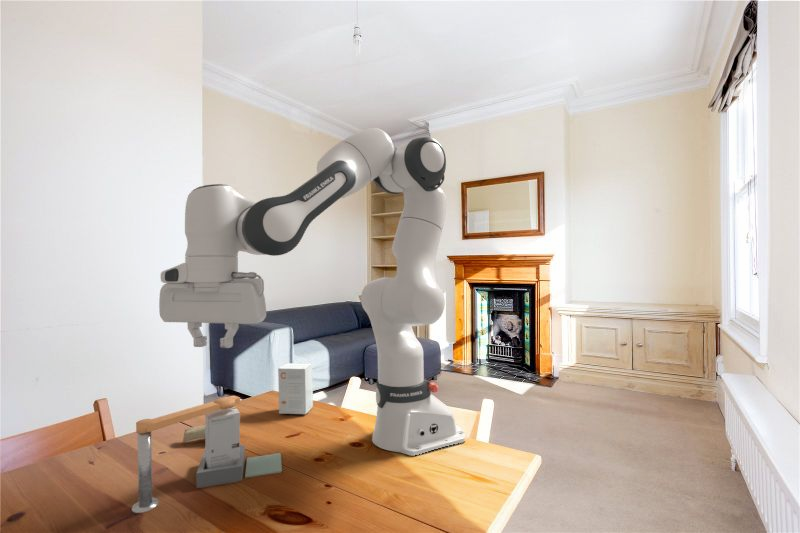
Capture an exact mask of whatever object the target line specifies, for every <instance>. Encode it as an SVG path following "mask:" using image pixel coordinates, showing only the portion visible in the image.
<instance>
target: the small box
mask: <svg viewBox="0 0 800 533" xmlns="http://www.w3.org/2000/svg"><path fill="white" fill-rule="evenodd" d="M277 371H278V375H277V376H278V380H277V381H278V414H285V415H286V414H289V415H307V413H309V412H310V410H311V409H312V408H313V406H314V396H313V395H314V391H313V389H314V387H313V363H301V362H300V363H294V362H293V363H289V362H288V363H285V364H283V365H282V366H280V367H278V368H277Z"/></svg>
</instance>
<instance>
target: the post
mask: <svg viewBox="0 0 800 533" xmlns="http://www.w3.org/2000/svg"><path fill="white" fill-rule="evenodd" d="M152 459H153V458H152V431H150V432H147V433H142V434H138V433H137V471H138V472H137V473H138V474H137V475H138V476H137V477H138V478H137V479H138V484H137V485H138V486H137V487H138V489H137V490H138V501H137V502H135V503H134V504H133V505H132V507H131V512H132V513H135V514H141V513H142V514H143V513H146V512H149V511H152V510H154V509H155V508H156V507H157V506H158V505H159V503H160V500H159V498H157V497H153V471H152V470H153V464H152V463H153V462H152V461H153V460H152Z"/></svg>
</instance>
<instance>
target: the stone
mask: <svg viewBox="0 0 800 533" xmlns="http://www.w3.org/2000/svg"><path fill="white" fill-rule="evenodd" d="M205 425H206V423H205V424H202V425H198V426H192V427H188V428H185V429H184V433H183V438H182V443H185V442H188V441H193V440H197V439H199V440H200V439H205Z"/></svg>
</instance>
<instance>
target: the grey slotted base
mask: <svg viewBox="0 0 800 533" xmlns="http://www.w3.org/2000/svg"><path fill="white" fill-rule="evenodd" d="M200 459H201V460H200V462H199V463H198V468H197V470H196V472H195V473H196V478H195V479H196V489H199V488H207V487H211V486H212V487H213V486H218V485H219V486H220V485H225V484H230V483H237V482H242V481H243V476H244V468H245V459H246V445H245V444H240V457H239V458H238V460H237V465H231V466H224V467H218V468H212V469H206V459H205V449H204V450H203V453H202V456H201V458H200Z"/></svg>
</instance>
